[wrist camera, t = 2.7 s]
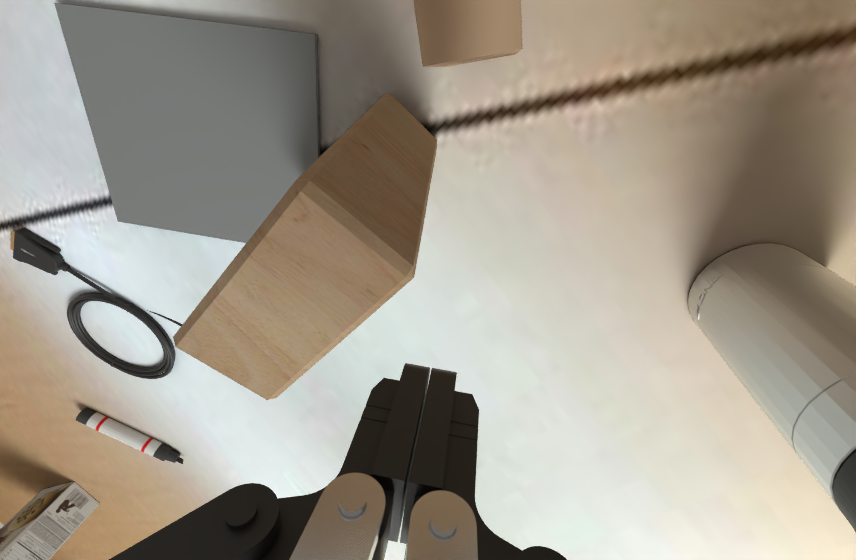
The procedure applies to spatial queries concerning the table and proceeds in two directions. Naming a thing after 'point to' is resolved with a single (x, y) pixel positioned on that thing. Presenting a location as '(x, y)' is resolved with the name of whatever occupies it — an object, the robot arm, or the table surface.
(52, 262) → the cable
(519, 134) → the table surface
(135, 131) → the mat
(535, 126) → the table surface
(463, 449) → the robot arm
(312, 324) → the decorative block
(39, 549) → the coffee box
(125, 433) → the marker
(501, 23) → the walnut block
